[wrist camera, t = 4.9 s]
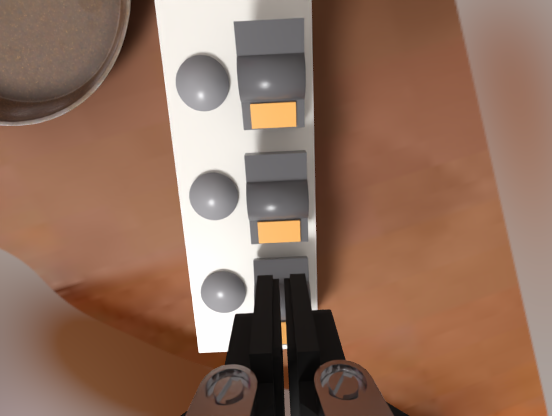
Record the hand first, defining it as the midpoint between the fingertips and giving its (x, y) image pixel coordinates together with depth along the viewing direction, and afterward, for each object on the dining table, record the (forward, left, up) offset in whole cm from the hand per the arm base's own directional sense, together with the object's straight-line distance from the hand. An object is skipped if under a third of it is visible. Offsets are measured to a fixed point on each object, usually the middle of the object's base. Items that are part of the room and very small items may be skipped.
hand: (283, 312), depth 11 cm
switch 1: (-9, 0, -11) cm, 14 cm away
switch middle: (-2, 0, -11) cm, 11 cm away
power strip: (-6, -2, -15) cm, 16 cm away
